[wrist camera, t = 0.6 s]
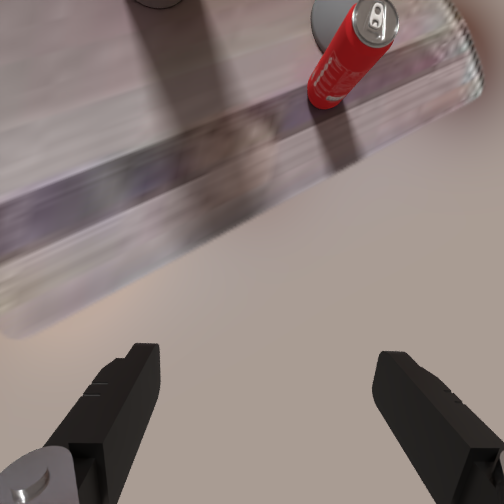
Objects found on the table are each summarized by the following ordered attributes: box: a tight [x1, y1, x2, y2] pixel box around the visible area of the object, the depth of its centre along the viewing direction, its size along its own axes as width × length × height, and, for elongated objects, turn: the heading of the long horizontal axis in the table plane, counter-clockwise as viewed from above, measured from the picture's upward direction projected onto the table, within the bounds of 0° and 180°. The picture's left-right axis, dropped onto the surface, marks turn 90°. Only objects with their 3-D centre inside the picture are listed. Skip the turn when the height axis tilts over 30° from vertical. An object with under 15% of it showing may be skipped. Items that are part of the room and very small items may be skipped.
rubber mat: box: [311, 0, 359, 53], centre depth 35 cm, size 11×11×1 cm
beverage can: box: [307, 0, 399, 110], centre depth 29 cm, size 5×5×12 cm
